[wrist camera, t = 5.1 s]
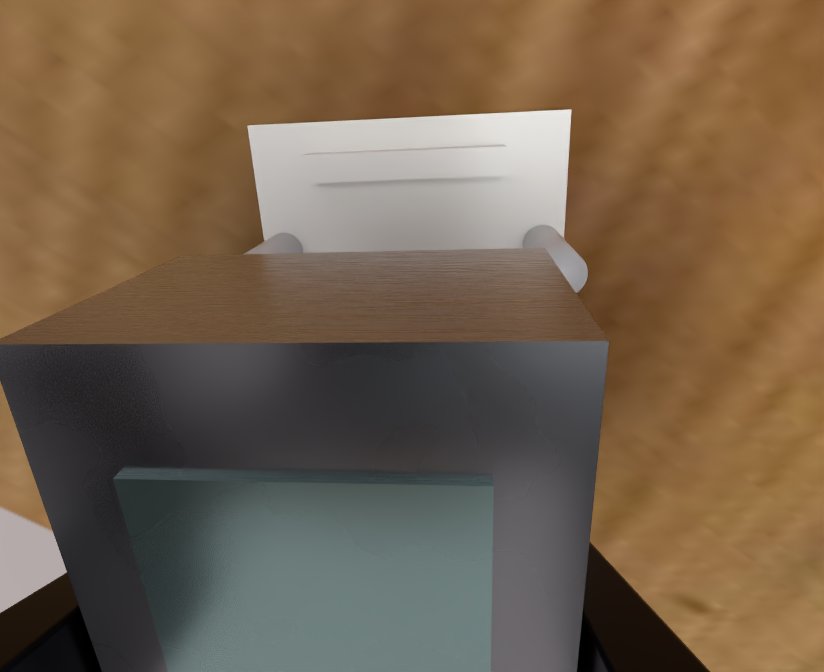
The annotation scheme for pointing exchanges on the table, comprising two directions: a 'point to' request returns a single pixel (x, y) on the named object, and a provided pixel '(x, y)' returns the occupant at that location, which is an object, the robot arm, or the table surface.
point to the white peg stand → (417, 185)
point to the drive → (321, 460)
